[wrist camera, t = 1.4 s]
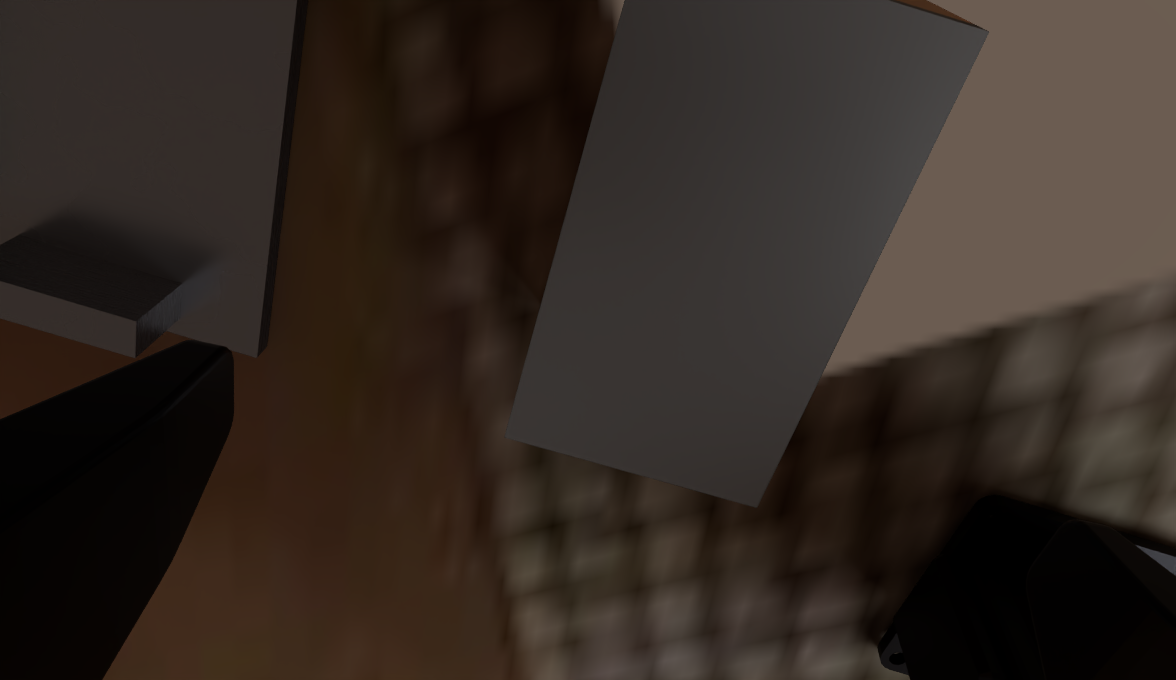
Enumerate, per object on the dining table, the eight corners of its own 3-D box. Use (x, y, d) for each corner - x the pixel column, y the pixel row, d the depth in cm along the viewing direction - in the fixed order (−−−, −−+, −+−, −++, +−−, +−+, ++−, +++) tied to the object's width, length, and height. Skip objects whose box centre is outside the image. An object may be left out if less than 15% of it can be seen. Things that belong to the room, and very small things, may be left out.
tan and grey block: (898, -15, 17) (989, 31, 12) (739, 360, 21) (757, 507, 16) (655, -91, 16) (645, -75, 12) (545, 305, 21) (504, 437, 16)
